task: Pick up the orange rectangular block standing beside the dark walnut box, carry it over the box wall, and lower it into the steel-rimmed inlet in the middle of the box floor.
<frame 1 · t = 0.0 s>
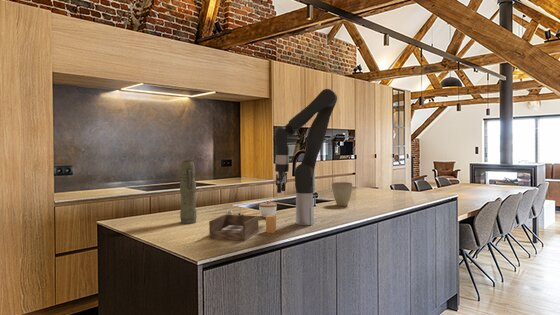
hand: (281, 192, 212), 17 cm above the counter, tool pointing down, fingers open, 8 cm apart
orange rectangular block: (271, 231, 190), on the counter
inlet box: (234, 234, 184), on the counter
valve: (233, 224, 210), on the counter
thermos: (188, 222, 213), on the counter
lidded jar: (267, 217, 229), on the counter
plant pot: (342, 205, 270), on the counter
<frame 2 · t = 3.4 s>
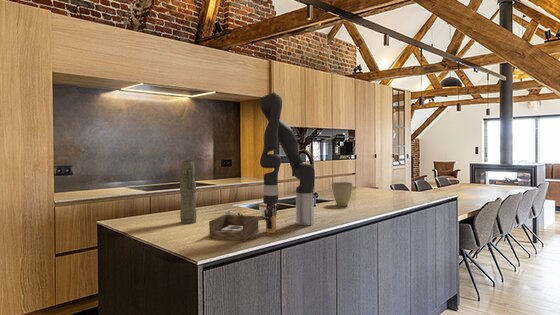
hand: (270, 227, 190), 2 cm above the counter, tool pointing down, fingers closed on orange rectangular block, 4 cm apart
orange rectangular block: (270, 231, 190), on the counter, touching gripper
when the fingers open (5 cm above the counter, at t = 9.0 s): orange rectangular block drops 2 cm, resting in inlet box.
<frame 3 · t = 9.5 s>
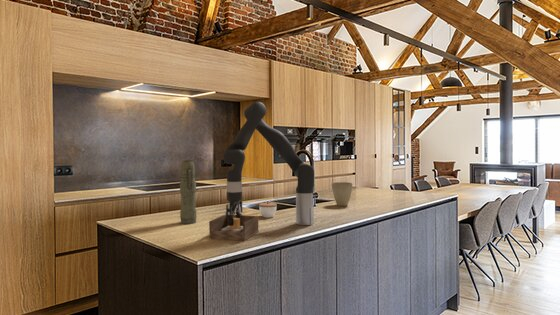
hand: (234, 223, 184), 5 cm above the counter, tool pointing down, fingers open, 8 cm apart
orange rectangular block: (234, 235, 184), resting in inlet box
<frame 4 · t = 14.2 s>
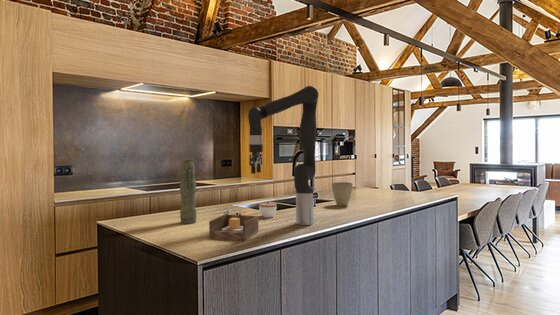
hand: (256, 173, 209), 28 cm above the counter, tool pointing down, fingers open, 8 cm apart
at the end: orange rectangular block 0.1 cm off-centre on the inlet box, point 0.0 cm above the inlet box's base; orange rectangular block tilted 0°; the gripper is holding nothing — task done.
